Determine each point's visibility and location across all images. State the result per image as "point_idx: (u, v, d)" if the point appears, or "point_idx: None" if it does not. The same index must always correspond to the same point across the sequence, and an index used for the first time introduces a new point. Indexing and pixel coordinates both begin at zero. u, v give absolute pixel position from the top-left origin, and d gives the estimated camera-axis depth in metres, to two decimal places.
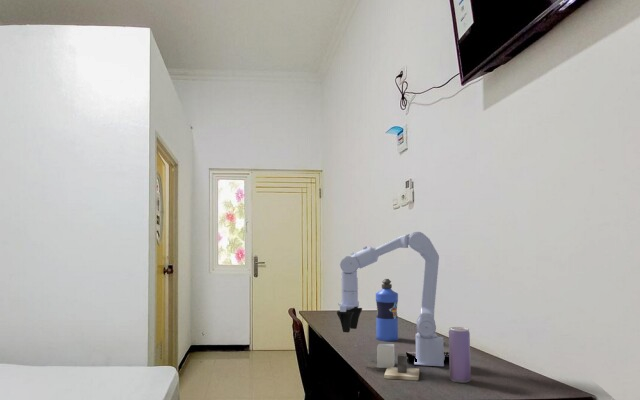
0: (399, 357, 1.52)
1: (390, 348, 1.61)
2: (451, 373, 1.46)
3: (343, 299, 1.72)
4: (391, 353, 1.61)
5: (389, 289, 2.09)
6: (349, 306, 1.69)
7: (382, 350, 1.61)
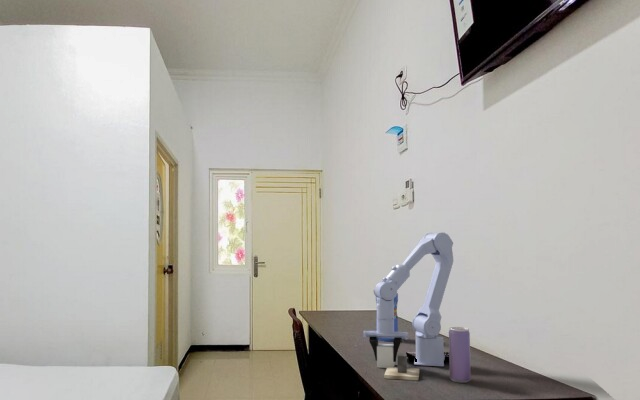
0: (399, 357, 1.52)
1: (390, 348, 1.61)
2: (451, 373, 1.46)
3: None
4: (391, 353, 1.61)
5: None
6: (371, 333, 1.64)
7: (382, 350, 1.61)
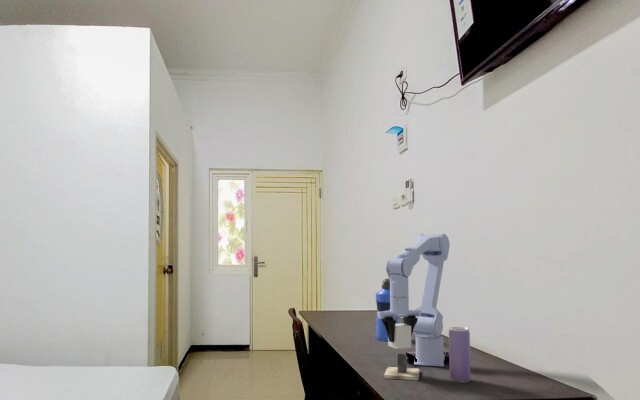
0: (399, 357, 1.52)
1: (408, 327, 1.53)
2: (451, 373, 1.46)
3: (390, 305, 1.56)
4: (409, 332, 1.53)
5: (389, 289, 2.09)
6: (388, 313, 1.52)
7: (401, 330, 1.52)
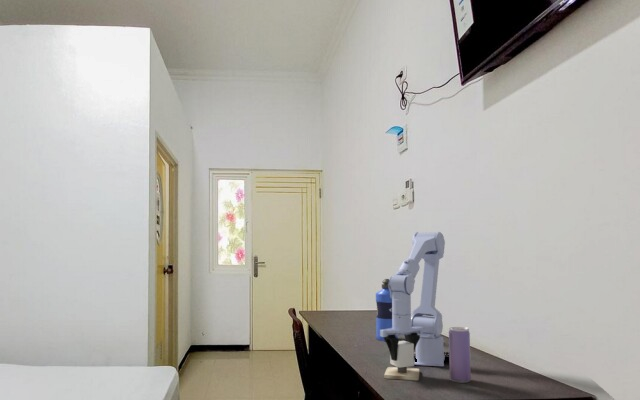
0: None
1: (411, 345, 1.51)
2: (451, 373, 1.46)
3: (392, 323, 1.54)
4: (412, 350, 1.51)
5: None
6: (391, 331, 1.50)
7: (404, 348, 1.50)
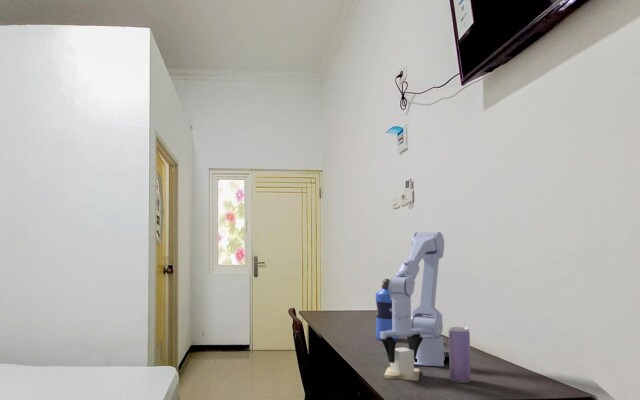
0: None
1: (411, 351, 1.51)
2: (451, 373, 1.46)
3: (392, 324, 1.54)
4: (412, 357, 1.51)
5: None
6: (391, 333, 1.50)
7: (404, 355, 1.50)
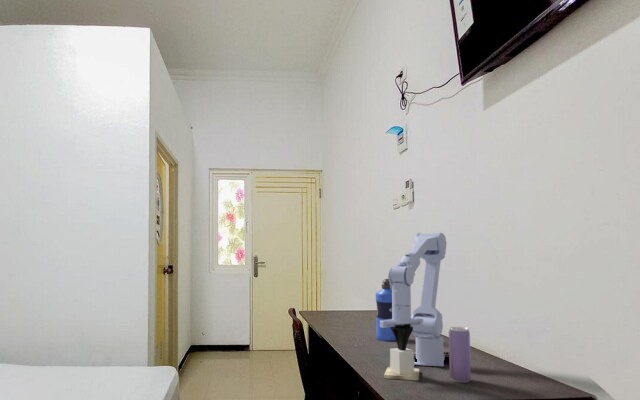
0: None
1: (411, 351, 1.51)
2: (451, 373, 1.46)
3: (392, 314, 1.54)
4: (412, 357, 1.51)
5: (389, 289, 2.09)
6: (391, 322, 1.50)
7: (404, 355, 1.50)
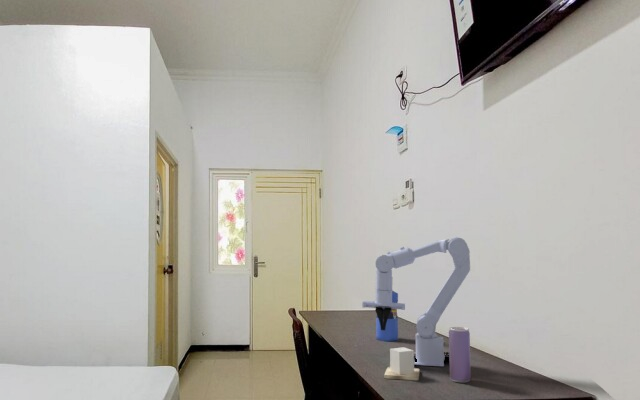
0: None
1: (411, 351, 1.51)
2: (451, 373, 1.46)
3: None
4: (412, 357, 1.51)
5: None
6: (369, 303, 1.71)
7: (404, 355, 1.50)
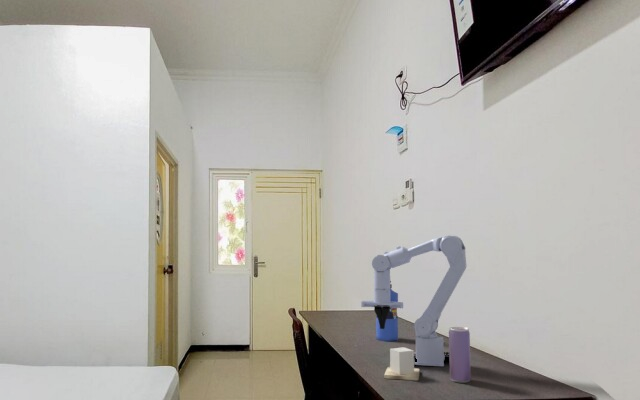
0: None
1: (411, 351, 1.51)
2: (451, 373, 1.46)
3: None
4: (412, 357, 1.51)
5: None
6: (368, 303, 1.75)
7: (404, 355, 1.50)
